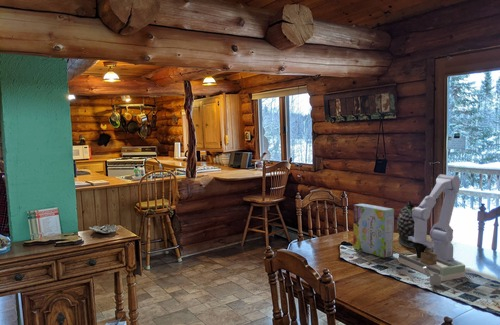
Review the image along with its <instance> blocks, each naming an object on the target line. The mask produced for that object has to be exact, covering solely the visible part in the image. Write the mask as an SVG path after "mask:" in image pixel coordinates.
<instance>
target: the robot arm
mask: <svg viewBox="0 0 500 325" xmlns="http://www.w3.org/2000/svg"><path fill="white" fill-rule="evenodd" d="M461 183H462V181H461V179H460V177H459V176H458V175H450V174H443V173H440V174H439V175H438V176H437V177H436V179H435V185H434V187H433V188H432V190H431V192H430V194H429V195H425V197H424V198H423V199H422V201H421V202H420V204H419V205H418V206H415V207H416V208H414V209H413V212H412V216H413V220H414V222H415V224H414V237H413V236H408V240H409V241H410V240H411V241H413V242H415V243H414V244H413V246H414V248H413V249H414V250H415V254H417V258H419V259H420V258H421V252H426V250H427V248H428V249H432V251H433V252H432V253H435V254H437V258H439V259H442V260H444V261H447V262H449V261H453V260H455V258H454V245H453V243H452V241H453V238H454V236H453V235H454V229H453V228H452V226H450V223H451V219H452V215H453V211H454V208H455V203H456V200H457V195H458V193H459V192H460V187H461ZM443 192H444V198H443V203H442V205H441V210H440V213H439V217H438V222H437V223H434V224H433V225H432V228H431V230H430V231H429V237H430V239H431V241H432V242H431V241H429V240H428V234H427V233H428V220H429V219H430V217H431V212H432V210H433V208H434V206H435V205H436V204H437V200H436V199H438V197H439V196H440V195H441V194H442V193H443Z"/></svg>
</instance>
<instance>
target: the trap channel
mask: <svg viewBox="0 0 500 325" xmlns="http://www.w3.org/2000/svg"><path fill="white" fill-rule="evenodd" d="M397 258H398V259H397V260H398V261H397V262H398V263H401V264H403V265H405V266H406V267H409V268H412V269H413V270H416V271H417V272H421V273H423V274H425V275H427V274H426V272H425V270H424V268H423V267H425V266H426V267H427V269H428V271H429V273H430V274H433V273H438V274H439V275H440V276H441V282H445V281H450V280H456V279H461V277H462V278H466V264H463V263H462V264H455V263H452V262H449V261H444V260H442V259H439V258H437V264H434V265H426V264H424V263H422V262H421V258H420V259H419V258H417V254H416V253H415V254H410V255H405V254H402V253H399V254H398V257H397Z"/></svg>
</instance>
